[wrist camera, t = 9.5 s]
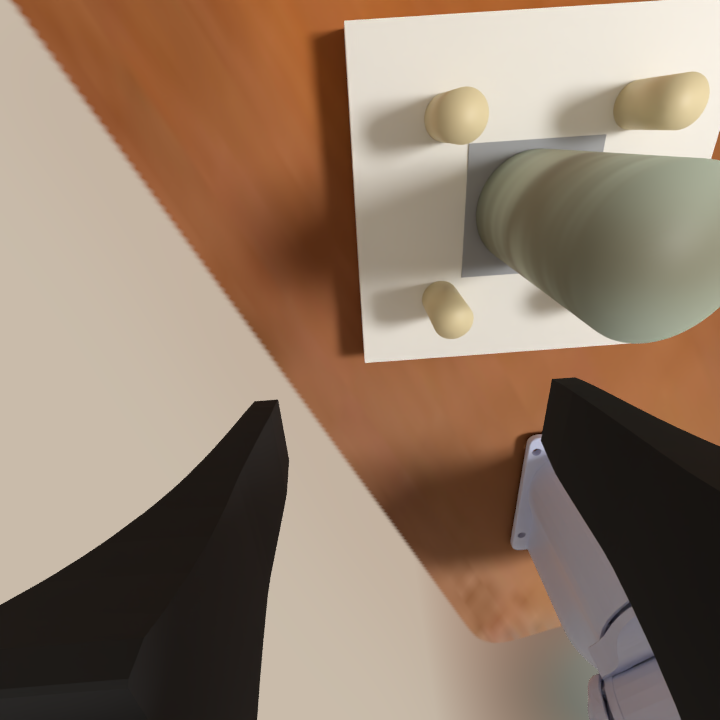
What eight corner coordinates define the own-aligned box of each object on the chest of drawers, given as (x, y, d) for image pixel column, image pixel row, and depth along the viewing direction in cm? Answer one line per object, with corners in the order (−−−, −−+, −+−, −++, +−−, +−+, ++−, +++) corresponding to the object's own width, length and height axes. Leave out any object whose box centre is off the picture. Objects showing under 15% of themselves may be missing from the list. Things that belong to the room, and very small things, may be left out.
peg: (575, 258, 18) (726, 336, 11) (472, 267, 18) (560, 350, 11) (593, 144, 16) (793, 150, 9) (479, 153, 16) (591, 166, 9)
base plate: (639, 330, 22) (692, 367, 18) (363, 351, 22) (368, 391, 18) (732, 3, 15) (837, -30, 12) (343, 27, 15) (345, 1, 12)
